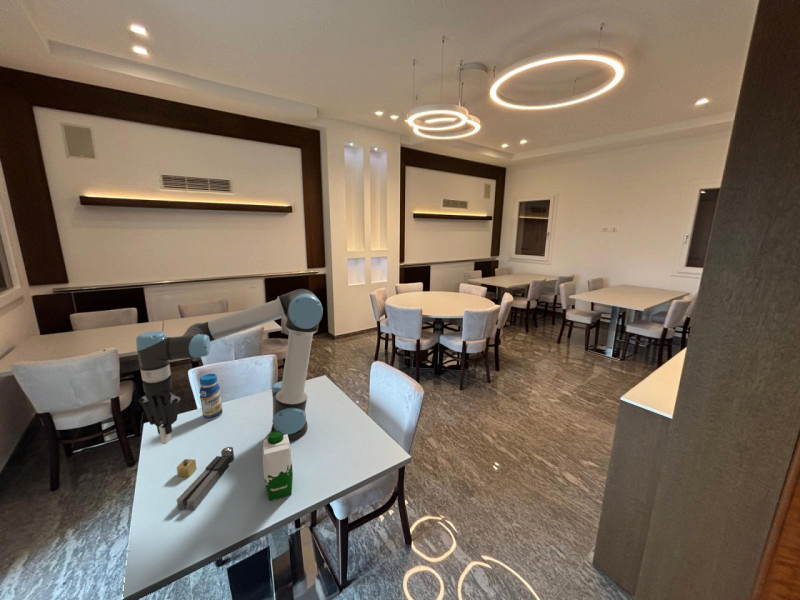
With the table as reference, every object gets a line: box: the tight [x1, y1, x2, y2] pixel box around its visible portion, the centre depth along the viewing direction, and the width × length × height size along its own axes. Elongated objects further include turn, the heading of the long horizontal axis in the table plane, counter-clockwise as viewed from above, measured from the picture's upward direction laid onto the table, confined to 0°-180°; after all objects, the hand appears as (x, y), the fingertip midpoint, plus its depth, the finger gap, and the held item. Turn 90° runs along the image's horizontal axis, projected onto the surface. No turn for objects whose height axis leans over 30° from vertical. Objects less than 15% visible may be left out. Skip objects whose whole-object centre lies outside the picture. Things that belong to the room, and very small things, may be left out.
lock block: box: [176, 458, 197, 478], centre depth 112 cm, size 4×4×5 cm
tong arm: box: [176, 455, 222, 511], centre depth 107 cm, size 19×2×4 cm, turn 175°
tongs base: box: [187, 446, 235, 511], centre depth 109 cm, size 24×4×5 cm, turn 178°
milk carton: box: [261, 431, 294, 502], centre depth 104 cm, size 9×9×20 cm
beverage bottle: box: [199, 373, 224, 421], centre depth 146 cm, size 8×8×20 cm
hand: (166, 441), depth 107 cm, fingers closed
